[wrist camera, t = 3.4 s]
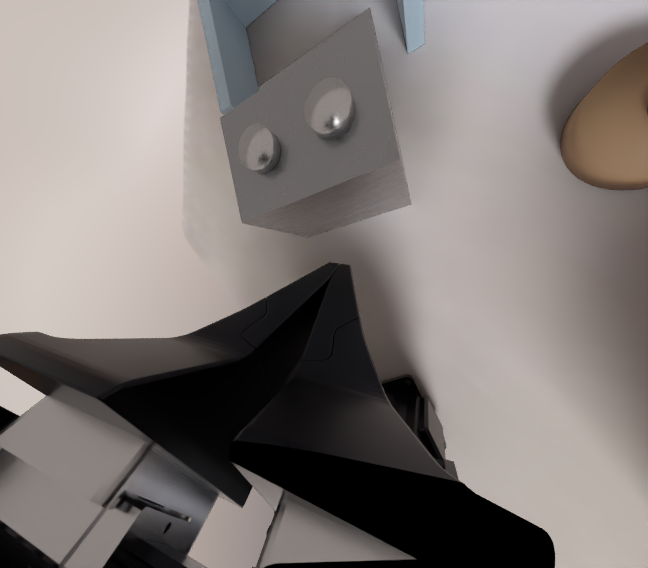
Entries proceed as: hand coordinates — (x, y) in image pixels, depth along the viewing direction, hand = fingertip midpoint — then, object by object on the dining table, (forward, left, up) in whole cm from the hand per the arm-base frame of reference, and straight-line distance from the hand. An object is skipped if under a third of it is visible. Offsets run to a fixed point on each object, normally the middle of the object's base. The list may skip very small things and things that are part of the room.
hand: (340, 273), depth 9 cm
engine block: (+1, +11, -12) cm, 17 cm away
